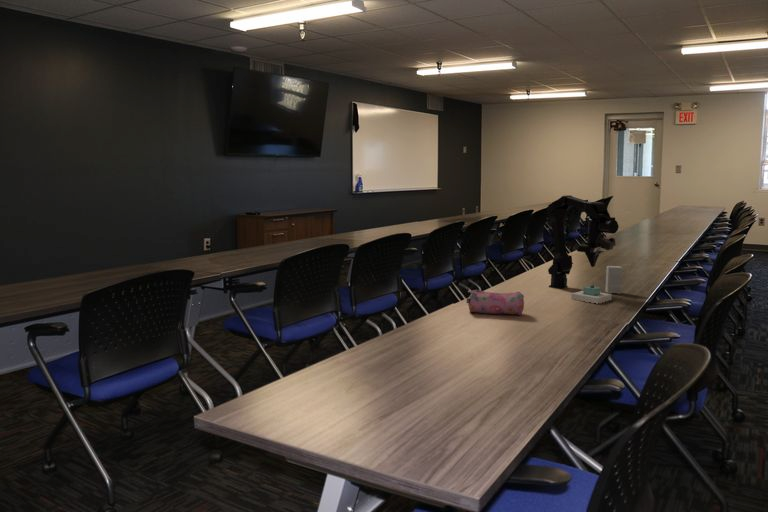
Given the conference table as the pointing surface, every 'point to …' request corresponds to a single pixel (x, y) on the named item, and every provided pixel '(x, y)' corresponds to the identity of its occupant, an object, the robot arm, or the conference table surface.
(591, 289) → the plug
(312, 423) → the conference table surface
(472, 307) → the pencil case
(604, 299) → the socket plate
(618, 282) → the skincare box
